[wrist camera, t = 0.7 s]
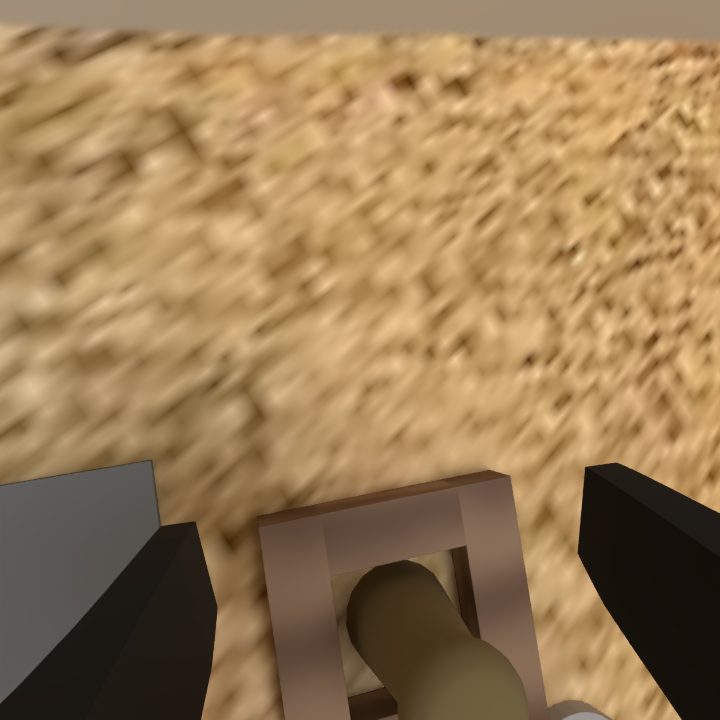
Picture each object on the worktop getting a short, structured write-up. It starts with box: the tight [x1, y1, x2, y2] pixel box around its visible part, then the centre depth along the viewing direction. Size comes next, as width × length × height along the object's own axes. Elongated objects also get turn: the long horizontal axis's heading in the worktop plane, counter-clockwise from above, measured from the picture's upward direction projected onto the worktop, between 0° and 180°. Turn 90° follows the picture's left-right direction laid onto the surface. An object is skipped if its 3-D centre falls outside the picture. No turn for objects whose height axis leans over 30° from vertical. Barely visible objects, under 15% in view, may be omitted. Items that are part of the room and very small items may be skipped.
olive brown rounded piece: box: [346, 560, 529, 720], centre depth 24 cm, size 6×6×11 cm
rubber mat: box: [0, 460, 161, 703], centre depth 26 cm, size 12×12×1 cm
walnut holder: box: [258, 470, 549, 720], centre depth 28 cm, size 14×14×2 cm
